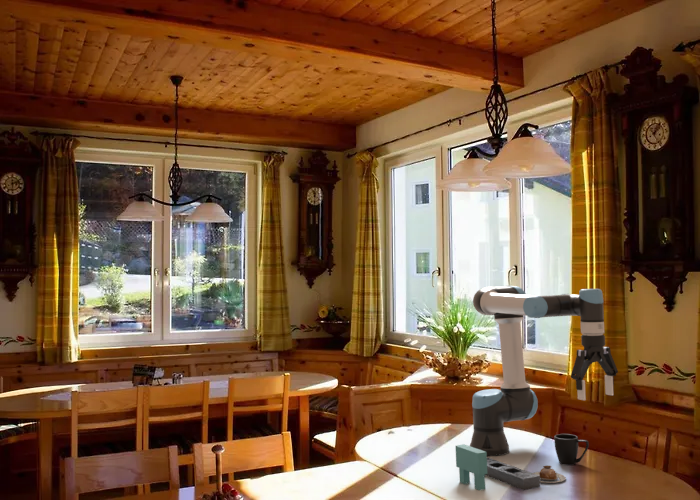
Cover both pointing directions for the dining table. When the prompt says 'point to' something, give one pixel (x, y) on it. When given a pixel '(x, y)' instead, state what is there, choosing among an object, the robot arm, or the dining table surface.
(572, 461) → the mug
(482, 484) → the clip
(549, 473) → the pastry
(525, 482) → the rail
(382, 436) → the dining table surface
